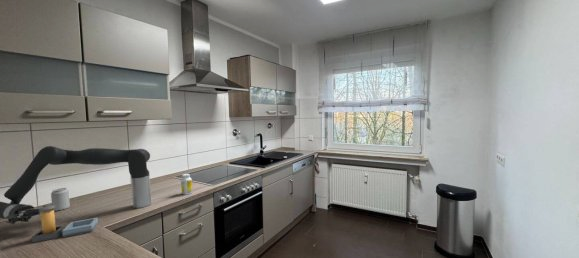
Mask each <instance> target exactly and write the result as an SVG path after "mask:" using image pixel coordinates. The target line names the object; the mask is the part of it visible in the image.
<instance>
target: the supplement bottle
mask: <svg viewBox="0 0 579 258" xmlns="http://www.w3.org/2000/svg"><path fill="white" fill-rule="evenodd" d="M181 177H182V178H181V180H180V184H181V186H180V187H181V194H182V195H184V196H185V195H186V196H187V195H190V194H192V193H193V179H192V177H191V176H190V173H184V174H182V175H181Z"/></svg>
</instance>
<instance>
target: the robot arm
mask: <svg viewBox="0 0 579 258" xmlns="http://www.w3.org/2000/svg"><path fill="white" fill-rule="evenodd" d="M150 159H151V154H150V152H149V151H148V150H146V149H145V148H136V149H116V148H102V147H100V148H99V147H97V148H86V149H81V150H72V149H71V150H70V149H63V148H59V147H57V146H52V145H48V146H47V145H46V146H45V147H42V148H41V149H40V150H39V151H38V152H37V153H36V155H35V156H34V158H33V159H32V161H31V162H30V163H29V165H28V166H27V168H26V169H25V170H24V171H23V173H22V174H21V175H20V177H18V178H17V180H16V181H15V182H14V183H13V184H12V185H11V186H10V187H8V189H7V190H6V191H5V192H4V194H3V197H5V199H8V200H10V202H9V203H8V202H5V201H0V219H5V222H6V223H7V224H11V225H13V224H16V223H17V222H18V223H22V222H23V223H28V222H29V221H30V220H31V219H33V218H34V217H38V216H40V217H41V212H39V208H42V207H46V206H47V205H43V206H42V207H34V206H33V205H31V204H25V203H21V202H22V200H23V199H24V197H25V196H26V195H27V194H28V193H29V192H30V191H31V190H32V189H33V188H34V186H35V184H36V182H37V179H38V177H39V175H40V173H41V172H42V171H43V169H44V168H46V167H47V166H48V165H53V166H57V165H71V164H78V165H94V166H95V165H97V166H98V165H99V166H101V165H104V166H105V165H113V164H119V163H127V166H128V173H129V175H130V183H131V197H132V208H134V209H140V208H146V207H148V206H150V205H152V193H151V181H150V180H151V179H150V178H151V177H150V171H149V169H148V166H147V162H149V161H150Z"/></svg>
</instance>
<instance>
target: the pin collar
mask: <svg viewBox="0 0 579 258" xmlns="http://www.w3.org/2000/svg"><path fill="white" fill-rule="evenodd" d="M65 228H66V224H63V225H56V232H52V233H47V234H43V233H42V228H41V229H40V230H39V231H38V232H36V233H35V234H33V236H31V242H32V243H39V242H44V241H48V240H49V241H50V240H54V239H58V238H60V236H62V235H63V232H62V231H63V230H64V229H65Z"/></svg>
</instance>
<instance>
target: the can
mask: <svg viewBox="0 0 579 258" xmlns="http://www.w3.org/2000/svg"><path fill="white" fill-rule="evenodd" d="M50 197H51V198H50V200H51V205H55V209H54V212H59V211H58V210H60V211H64V210H63V209H65V210H67V209H69V208H70V205H71V204H70V203H71V202H70V192H69V189H68V188H67V187H60V188H56V189H53V190H52V192H51V193H50ZM66 208H67V209H66Z"/></svg>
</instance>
